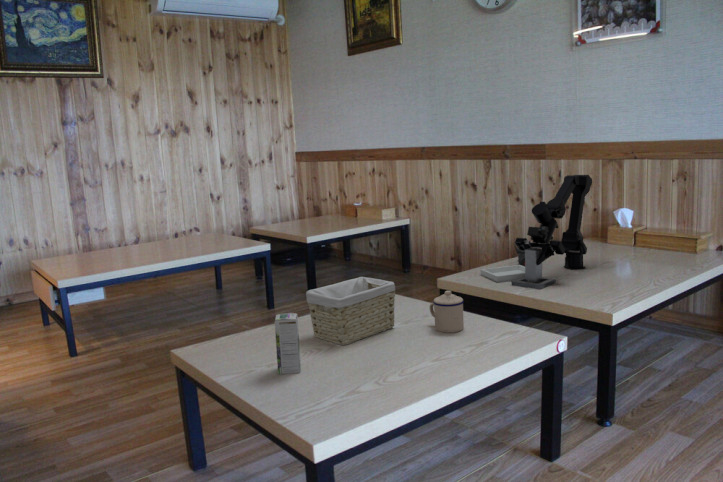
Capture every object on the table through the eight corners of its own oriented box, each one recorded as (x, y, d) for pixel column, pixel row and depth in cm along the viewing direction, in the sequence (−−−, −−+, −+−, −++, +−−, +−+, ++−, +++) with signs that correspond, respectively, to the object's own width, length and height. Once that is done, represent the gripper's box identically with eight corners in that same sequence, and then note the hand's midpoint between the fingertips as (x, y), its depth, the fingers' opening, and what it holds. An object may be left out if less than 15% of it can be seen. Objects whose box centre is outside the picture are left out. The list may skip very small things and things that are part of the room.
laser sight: (535, 260, 274) (535, 238, 273) (539, 271, 253) (538, 247, 251) (513, 260, 277) (513, 239, 275) (515, 271, 255) (514, 248, 253)
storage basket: (341, 348, 171) (337, 298, 169) (306, 337, 183) (303, 290, 181) (400, 328, 187) (397, 281, 185) (364, 319, 199) (361, 275, 197)
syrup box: (279, 367, 160) (274, 314, 157) (301, 365, 160) (297, 312, 158) (278, 375, 154) (273, 320, 152) (301, 373, 154) (296, 318, 152)
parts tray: (519, 270, 255) (519, 264, 255) (538, 277, 241) (538, 271, 240) (480, 275, 251) (480, 269, 250) (497, 282, 236) (497, 276, 236)
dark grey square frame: (527, 279, 239) (527, 275, 239) (556, 282, 231) (556, 278, 231) (511, 285, 231) (511, 281, 231) (540, 289, 223) (540, 285, 222)
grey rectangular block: (531, 278, 234) (531, 247, 232) (542, 279, 231) (541, 248, 229) (525, 280, 231) (524, 249, 229) (536, 282, 228) (535, 250, 226)
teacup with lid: (470, 327, 183) (469, 290, 181) (451, 335, 177) (449, 296, 175) (440, 320, 192) (439, 284, 190) (421, 327, 186) (419, 290, 184)
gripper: (516, 217, 236) (501, 249, 230) (560, 219, 223) (546, 254, 217) (527, 234, 243) (513, 266, 237) (571, 237, 230) (557, 271, 224)
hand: (531, 263), depth 229 cm, fingers closed on grey rectangular block, 4 cm apart
